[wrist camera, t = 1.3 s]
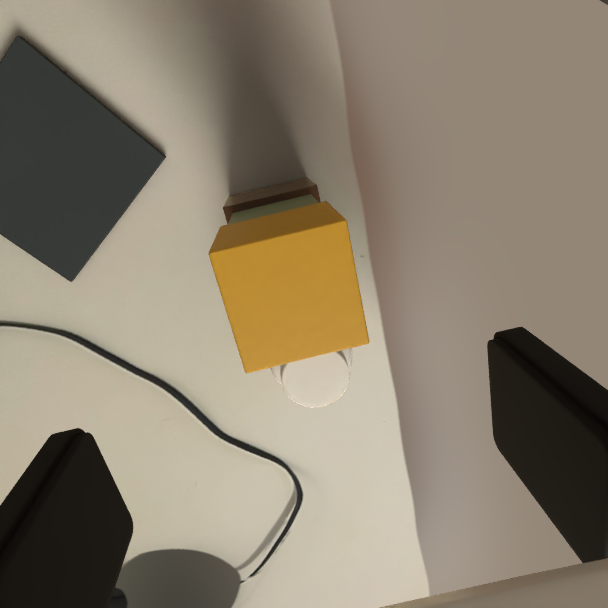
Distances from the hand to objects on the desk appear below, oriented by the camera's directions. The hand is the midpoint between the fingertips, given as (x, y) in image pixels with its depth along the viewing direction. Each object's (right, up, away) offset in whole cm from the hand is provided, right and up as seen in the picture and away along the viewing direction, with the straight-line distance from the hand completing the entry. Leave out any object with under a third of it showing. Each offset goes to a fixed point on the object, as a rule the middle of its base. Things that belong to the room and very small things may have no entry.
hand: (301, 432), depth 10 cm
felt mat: (-19, +13, +24) cm, 33 cm away
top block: (-1, +5, +15) cm, 16 cm away
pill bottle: (0, +2, +30) cm, 30 cm away
